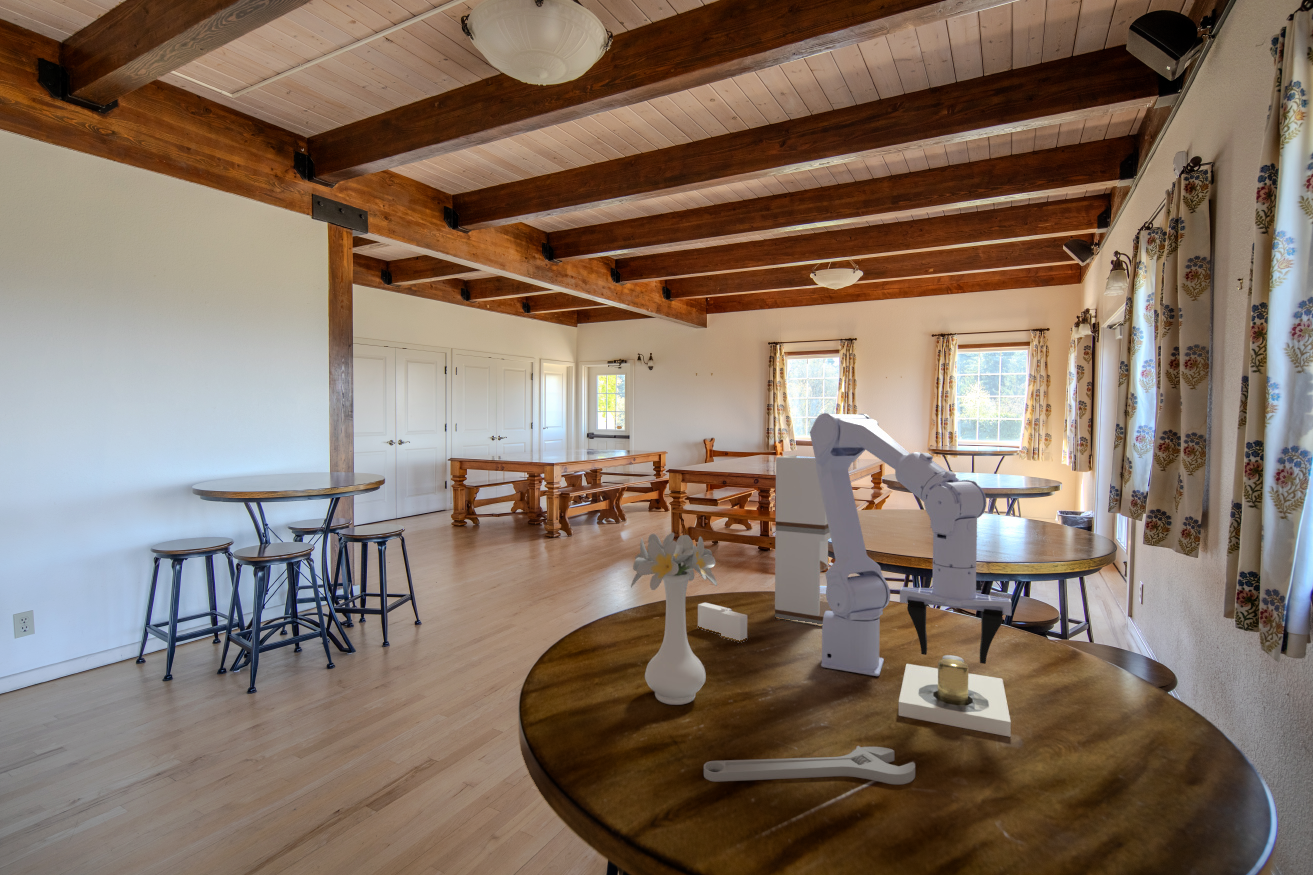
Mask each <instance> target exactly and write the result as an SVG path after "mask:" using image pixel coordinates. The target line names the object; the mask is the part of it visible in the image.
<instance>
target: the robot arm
mask: <svg viewBox="0 0 1313 875" xmlns="http://www.w3.org/2000/svg"><path fill="white" fill-rule="evenodd" d="M809 435H810V441H811V445H812V450H813V453H814V458H815V460H816V469H817V474H818V479H819V484H820V488H821V493H822V498H823V503H824V507H825V512H826V517H827V522H828V526H829V531H830V536H831V538H830V541H831V544H832V549H833V554H834V559H835V560H834V562H833V563H832V564H831V566H830V567H828V568H827V569H826V572H825V573H824V574H825V575H824V576H825V579H826V590H825V596H826V602H828V604H829V606H830V608H831V609H832V611H825V614H824V617H823V625H822V626H821V627H822V629H821V633H822V634H821V664H820V666H821V667H822V668H827V669H833V670H838V671H844V672H851V673H857V674H861V675H862V674H863V675H867V676H875V677H879V676H880V674H881V671H882V668H883V665H884V661H885V660H884V658H883V657H880V621H881V619H880V616H883V614H884V611H883V610H884V609H885V608H887V606H888V605H889V603H890V600H891V590H890V586H889V584H888V581H887V580H886V578H885V577H884V575H883V572H882V568H881V565H879V564H878V562H876V561H874V560H873V559H872V558H871V557H869V556H868V553H867V550H866V548H867V547H866V546H865V545H866V544H865V540H864V535H863V531H862V526H861V522H860V517H859V512H858V509H857V504H856V501H855V496H854V490H853V486H852V482H851V477H850V472H849V468H850V466H851V465H852V464H853V463H854V462H855V461H857V459H859V457H860V456H861V455H862V454H863V453H864V452H865V451H867V452H868V453H870V454H872V455H873V456H874V457H876V458H877V459H879V460H880V461H881V462H883V463H884V464H886V465H888V466H889V467H890V468H892V469H894V471H895V474H894V476H895V478H896V481H897V482H898V483H899V484H901V485H902V486H903V487H905V488H906V489H907V490H908V491H910V492H911V494H913V495H915V496H916V497H917V498H918V499H920V500H921V502H923V505H924V508H925V512H926V513H927V515H928V517H929V520H930V528H931V531H932V532H933V533H932V534H933V535H932V543H933V544H932V584H931V585H932V587H907V586H900V589H899V602H900V603H903V604H907V607H906V608H907V612H908V615H909V616H910V617H909V618H910V619H911V621H912V623H913V625H914V628H915V631H916V634H917V637H918V641H919V646H920V654H921V655H923V656H924V655H925V656H926V655H927V653H928V635H927V608H928V607H927V605H930V606H938V607H948V608H956V609H962V610H963V609H964V610H970V611H971V610H972V611H980V612H981V616H980V618H981V620H980V621H981V627H980V628H981V629H980V630H981V632H980V636H981V637H980V646H979V664H984V665H985V664H986V662H987V656H988V653H989V650H990V648H991V647H990V646H991V644H992V642H993V639H994V637H995V636H996V633H997V632H998V631H999V629H1000V627H1001V625H1002V624H1003V620H1004V619H1003V618H1004V617H1003V616H1010V617H1011V616H1012V600H1011V598H1007V597H1002V596H1001V597H1000V596H994V595H989V594H982V593H980V592H979V593H978V592H977V552H978V551H977V546H978V544H977V540H978V539H977V538H978V519H979V518H980V517H982V515H983V514H984V512H985V511H986V509H987V496H986V493H985V492H984V490H983V488H982V487H981V486H980V485H978V483H977V482H976V481H975V480H972V479H971V480H970V479H962V480H961V479H959V478H957V474H956V473H955V472H953V471H951V470H946V469H945V468H944V467H942V466H941V465H940V464H938V463H936V462H935V460H933V459H934V456H933V455H932V454H930V453H928V452H919V451H918V452H917V451H916V452H911V453H910V452H909V451H908V450H907V449H905V448H904V447H903V446H902V445H901V444H900V443H899V442H897V441H896V440H895V439H894V438H893V437H891V436H890V435H889V434H888V433H887V432H886V431H884V429H882V428H881V427H880V426H879V422H878V420H875V419H873V418H872V417H870V415H868V414H865V413H858V414H856V413H855V414H852V413H850V414H848V413H847V414H846V413H844V414H843V413H829V412H824V413H821V414H819V415H818V416H817V417H816V418H815V421H814V422H813V425H812V427H811V429H810V430H809ZM851 574H857V575H855V576H854V575H853V576H849V575H851Z"/></svg>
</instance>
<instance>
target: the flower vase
mask: <svg viewBox="0 0 1313 875" xmlns="http://www.w3.org/2000/svg"><path fill="white" fill-rule="evenodd" d="M674 537H675V533H674V532H671V533H669V534H667V535H666V536H665V538H663V541H661V539H660V537H659V536H658V534H656V533H651V534H650V535H648V539H647V541H648V542H647V544H648V545H647V549H646V545H645V543H644V539H643V538H640V544H639V551H640V552H639V553H638V554H637V555H635V557H634V559H635V560H634V563H633V566H632V569H633V571H635V572H636V574H635V575H634V578H633V579H632V582H631V585H630V588H633V587H634V585H635V584H636V583H637V582H638V580H639V579H640V578H641V577H643V576H647V575H648V576H649V575H651V578H650V581H649V587H650V590H651V591H655V590H656V589H658V587H659V586H660V584H661V583H662V581H663V586H664V592H665V623H664V624H665V627H664V636H663V640H662V643H661V646H660V648H659V650H658V652H656V653H655V655H653V657H652V658H651V659H650V660H649V662H648V663H647V666H646V669H645V673H644V679H645V681H646V684H647V685H648V687H649V688H650V689H651V691H653V692H654V696H655V699H656V700H658V701H659V702H660V703H663V704H666V705H673V706H674V705H675V706H679V705H685V704H689V703H691V702H693V701H694V700H695V698H696V693H698V692H699V691H700V690H701V689H702V687H703V685H705V683H706V679H707V678H706V676H707V674H706V669H705V666H704V665H703V663H702V661H701V660H700V658H699V657H698V656H696V655H695V653H694V652H693V650H692V648H691V646H690V643H689V641H688V640H689V639H688V634H687V621H686V596H687V595H686V594H687V589H688V583H689V581H690V582H691V581H693V580H694V579H695V572H694V571H696V572H697V573H698V574H699V576H701V578H702V579H703V580H704V581H706V580H708V581H709V582H710V583H712V584H713V585H714V586H716V587H717V586H718V581H717V579H716V576H715V575H714V574H713V571H712V569H711V568H713V567H714V566H716V559H715V557H714V555H713V552H712V550H710V549H708V548H705V544H704V539H703V537H702V536H699V537H698V541H697V544H696V545H695V544H694V541H693V540H692V538H691V537H690V535H688V534H684V535H683V534H682V535H680V536H679V537H678V538H677V540H674Z"/></svg>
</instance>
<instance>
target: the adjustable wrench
mask: <svg viewBox="0 0 1313 875" xmlns="http://www.w3.org/2000/svg"><path fill="white" fill-rule="evenodd" d="M855 747H856V748H855V749H852V751H851V752H849V753H847V754H845V755H840V756H828V757H827V756H826V757H825V756H824V757H823V756H822V757H819V756H818V757H793V758H766V759H765V758H762V759H732V760H725V759H724V760H711V761H706V762H705V763H704V764H703V777H704V779H706V780H707V781H710V782H715V783H716V782H735V781H737V782H738V781H757V780H758V781H759V780H760V781H762V780H777V779H778V780H781V779H782V780H783V779H784V780H785V779H801V778H802V779H803V778H804V779H806V778H826V777H852V778H853V777H854V778H859V779H864V780H865V779H866V780H871V781H876V782H879V783H884V784H889V785H906V784H909V783H911V782H913V780H914V779H915V778H916V763H915V762H914V761H912V762H911V761H910V762H908V763H905V764H902V765H899V766H898V765H895V764H890V763H892V762H894V761H895V750H893V749H892V748H888V747H883V746H862V747H861V746H859V745H857V746H855Z"/></svg>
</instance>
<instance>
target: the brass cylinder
mask: <svg viewBox="0 0 1313 875" xmlns="http://www.w3.org/2000/svg"><path fill="white" fill-rule="evenodd" d="M937 669H938V700H939V701H942V702H944V703H947V704H952V705H958V706H960V705H968V673H969V664H967V663H965V661H964V662H962V661H958V660H953V659H943V658H942V659H939V660H938V661H937Z"/></svg>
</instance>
